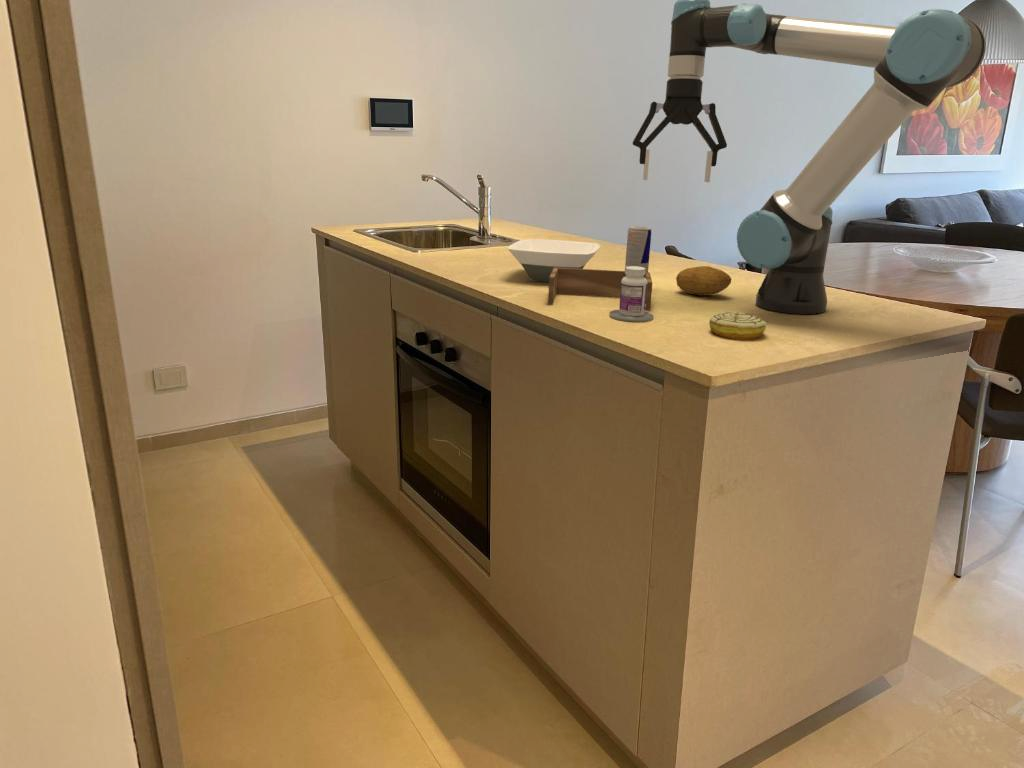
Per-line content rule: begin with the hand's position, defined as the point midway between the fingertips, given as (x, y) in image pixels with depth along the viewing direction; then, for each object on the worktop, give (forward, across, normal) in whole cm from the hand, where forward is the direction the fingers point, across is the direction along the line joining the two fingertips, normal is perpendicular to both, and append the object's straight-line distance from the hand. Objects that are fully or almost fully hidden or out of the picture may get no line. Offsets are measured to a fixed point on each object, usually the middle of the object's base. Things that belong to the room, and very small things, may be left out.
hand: (675, 181), depth 172 cm
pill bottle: (+26, +9, +22) cm, 35 cm away
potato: (+27, -9, -6) cm, 29 cm away
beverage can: (+26, +6, -9) cm, 29 cm away
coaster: (+26, +9, +22) cm, 36 cm away
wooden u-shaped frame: (+26, +16, +8) cm, 32 cm away
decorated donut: (+27, -10, +32) cm, 43 cm away
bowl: (+26, +27, -18) cm, 42 cm away
